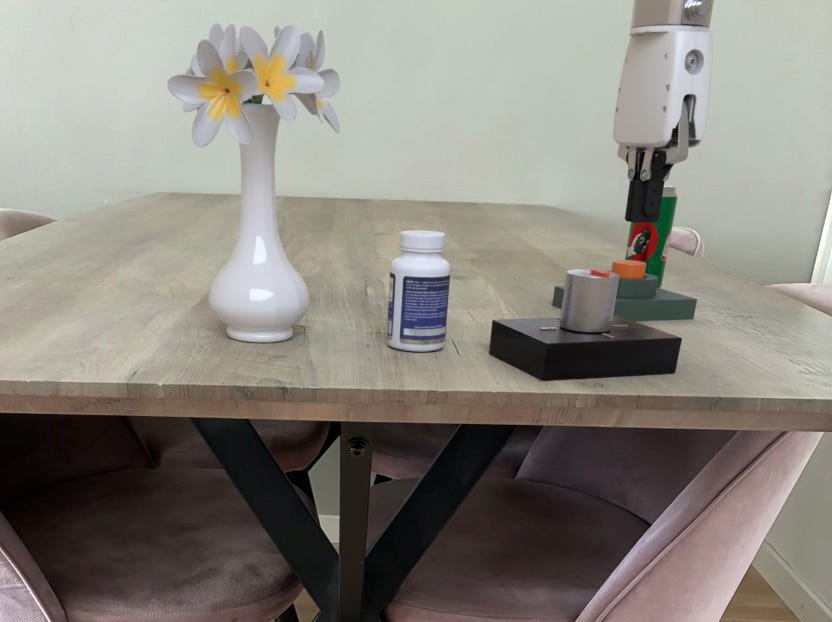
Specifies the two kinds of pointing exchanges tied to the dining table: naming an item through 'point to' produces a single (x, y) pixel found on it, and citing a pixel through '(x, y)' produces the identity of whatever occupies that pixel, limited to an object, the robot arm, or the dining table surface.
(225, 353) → the dining table surface
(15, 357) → the dining table surface
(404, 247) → the pill bottle
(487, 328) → the dining table surface
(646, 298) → the button block
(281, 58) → the flower vase
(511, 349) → the dial panel
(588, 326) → the dial
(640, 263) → the button
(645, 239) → the soda can
